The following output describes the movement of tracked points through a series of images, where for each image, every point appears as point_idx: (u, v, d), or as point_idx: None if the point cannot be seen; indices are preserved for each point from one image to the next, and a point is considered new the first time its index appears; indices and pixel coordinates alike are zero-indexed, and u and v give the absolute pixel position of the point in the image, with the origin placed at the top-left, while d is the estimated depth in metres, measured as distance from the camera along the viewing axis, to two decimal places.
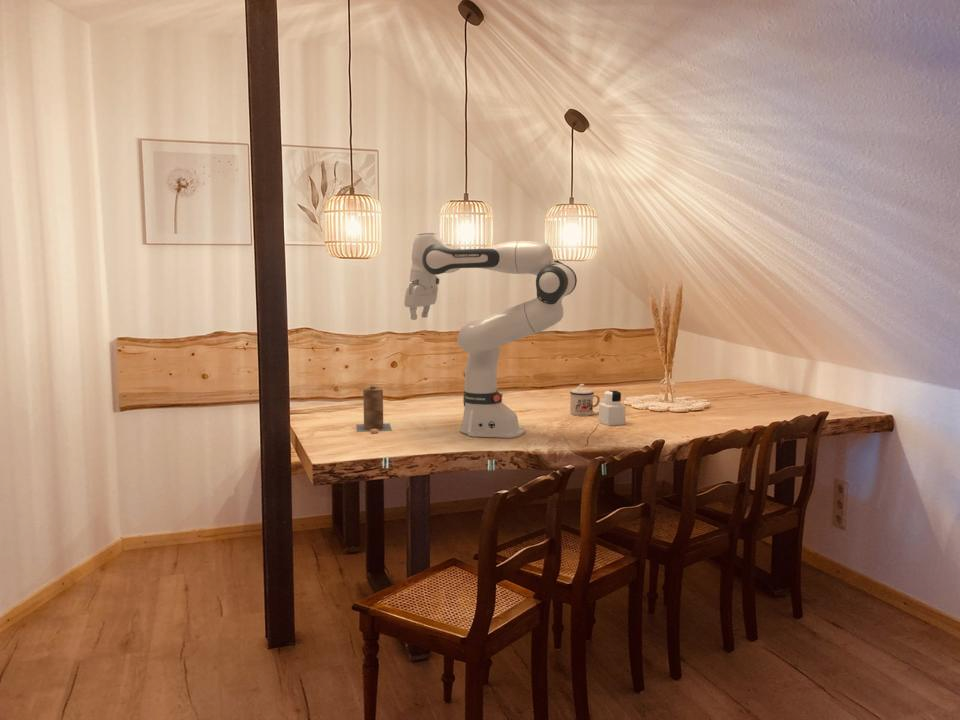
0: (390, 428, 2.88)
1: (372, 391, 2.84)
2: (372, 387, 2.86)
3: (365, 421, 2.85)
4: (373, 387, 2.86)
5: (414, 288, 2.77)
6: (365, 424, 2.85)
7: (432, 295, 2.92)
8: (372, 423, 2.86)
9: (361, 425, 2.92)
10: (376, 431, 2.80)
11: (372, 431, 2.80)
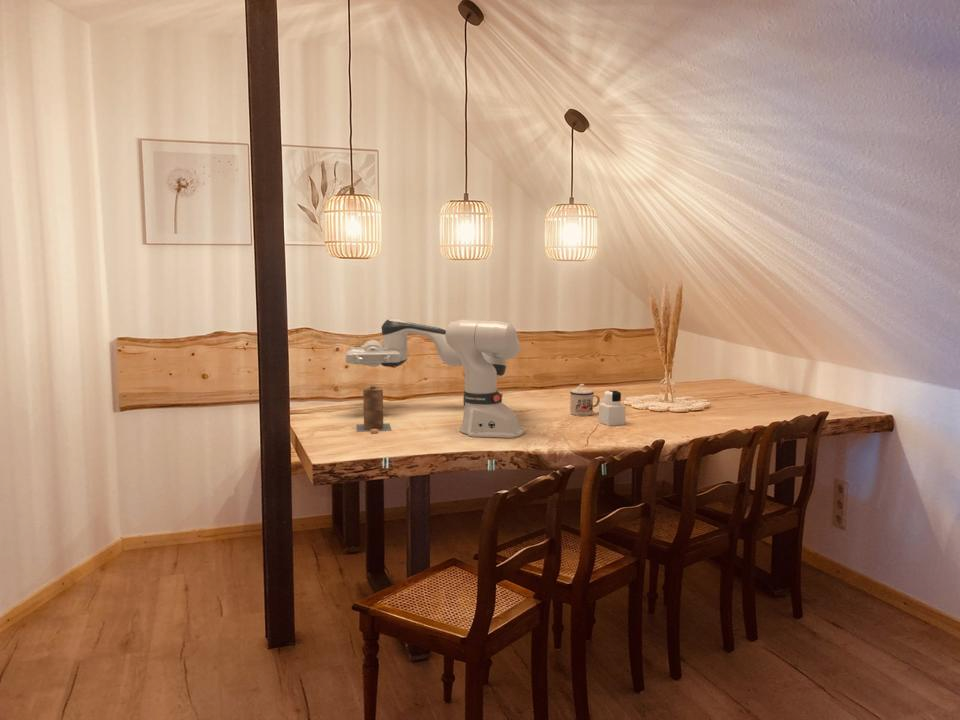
0: (390, 428, 2.88)
1: (372, 391, 2.84)
2: (372, 387, 2.86)
3: (365, 421, 2.85)
4: (373, 387, 2.86)
5: None
6: (365, 424, 2.85)
7: None
8: (372, 423, 2.86)
9: (361, 425, 2.92)
10: (376, 431, 2.80)
11: (372, 431, 2.80)
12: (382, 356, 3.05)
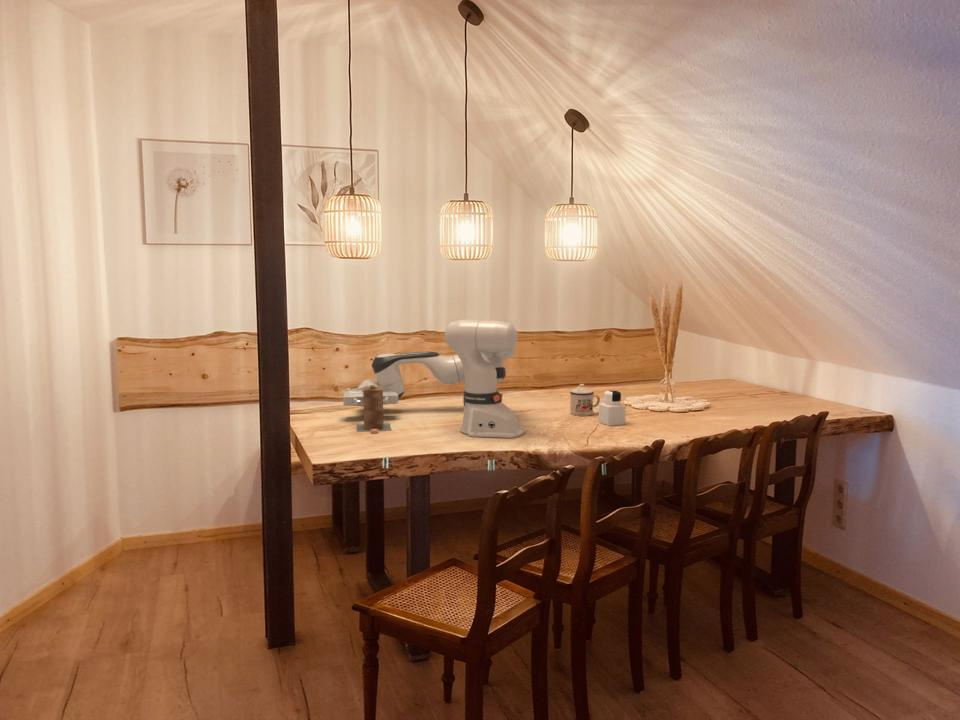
0: (390, 428, 2.88)
1: (372, 391, 2.84)
2: (372, 387, 2.86)
3: (365, 421, 2.85)
4: (373, 387, 2.86)
5: None
6: (365, 424, 2.85)
7: None
8: (372, 423, 2.86)
9: (361, 425, 2.92)
10: (376, 431, 2.80)
11: (372, 431, 2.80)
12: None
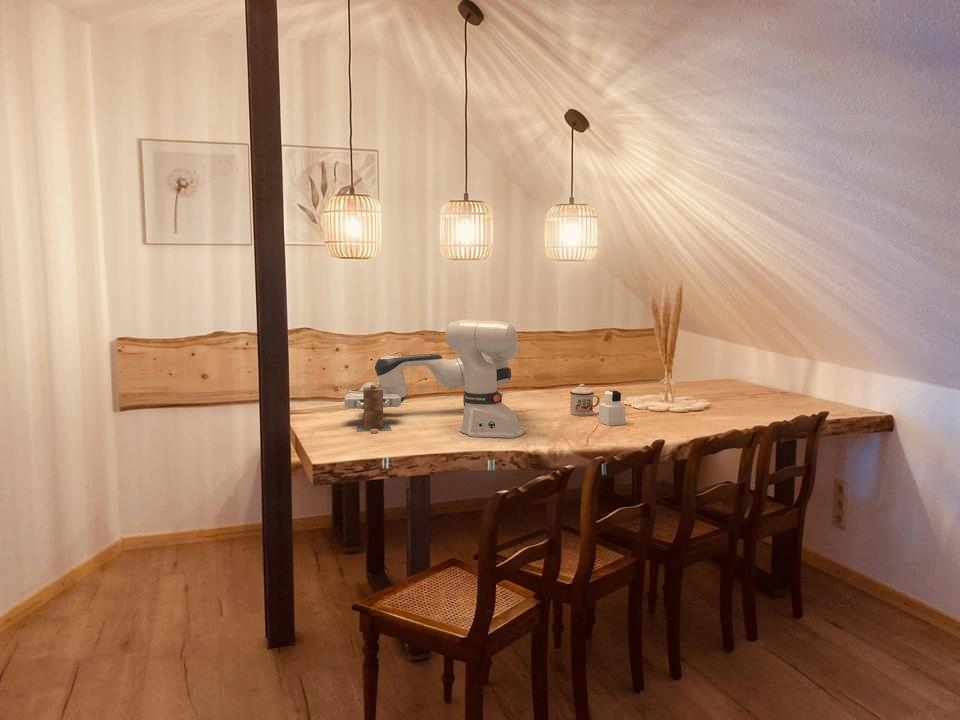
0: (390, 428, 2.88)
1: (372, 391, 2.84)
2: (372, 387, 2.86)
3: (365, 421, 2.85)
4: (373, 387, 2.86)
5: None
6: (365, 424, 2.85)
7: None
8: (372, 423, 2.86)
9: (361, 425, 2.92)
10: (376, 431, 2.80)
11: (372, 431, 2.80)
12: None
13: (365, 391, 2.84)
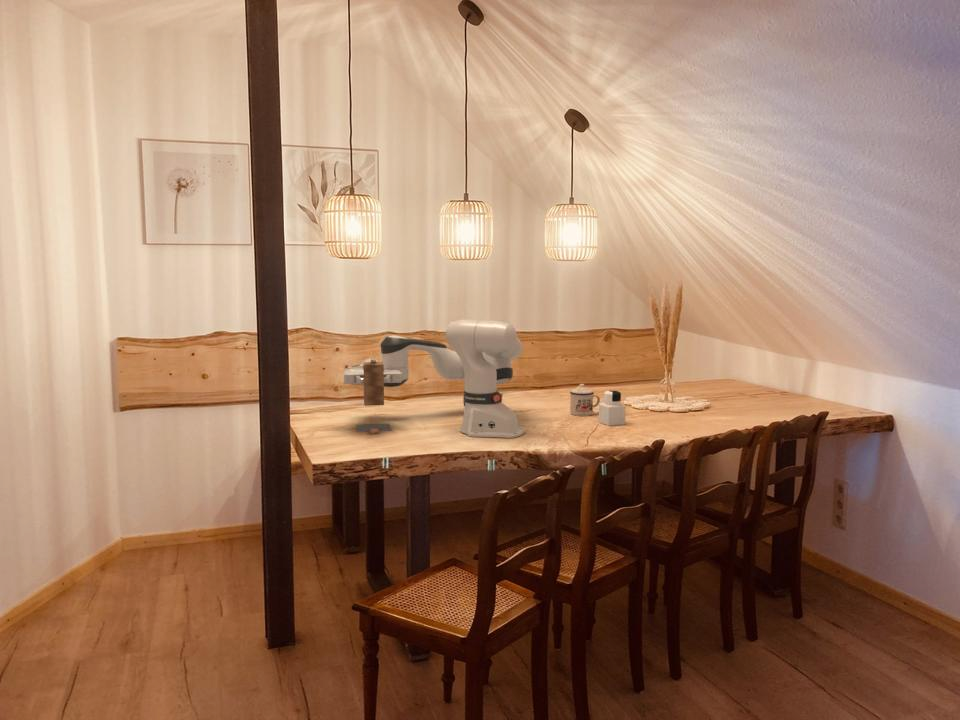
0: (390, 428, 2.88)
1: (372, 366, 2.75)
2: (372, 362, 2.77)
3: (365, 397, 2.76)
4: (373, 362, 2.77)
5: None
6: (365, 400, 2.76)
7: None
8: (372, 399, 2.76)
9: (361, 425, 2.92)
10: (376, 431, 2.80)
11: (372, 431, 2.80)
12: None
13: (365, 366, 2.74)
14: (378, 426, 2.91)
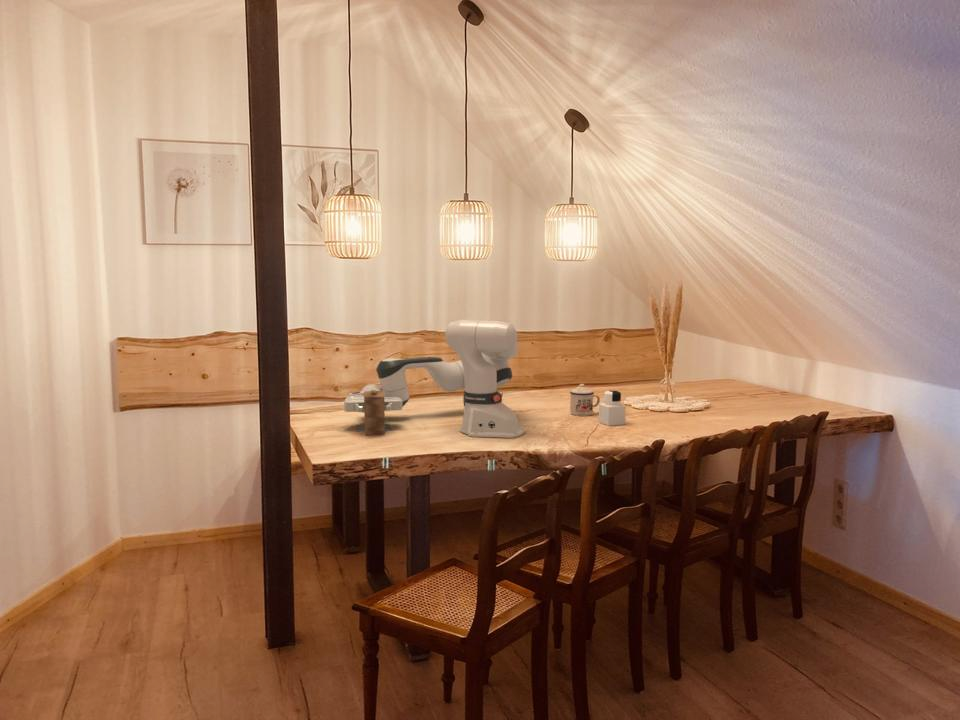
0: (390, 428, 2.88)
1: (373, 398, 2.74)
2: (373, 393, 2.77)
3: (366, 428, 2.77)
4: (374, 393, 2.77)
5: None
6: (366, 431, 2.77)
7: None
8: (373, 430, 2.77)
9: (361, 425, 2.92)
10: None
11: None
12: None
13: (366, 398, 2.74)
14: None
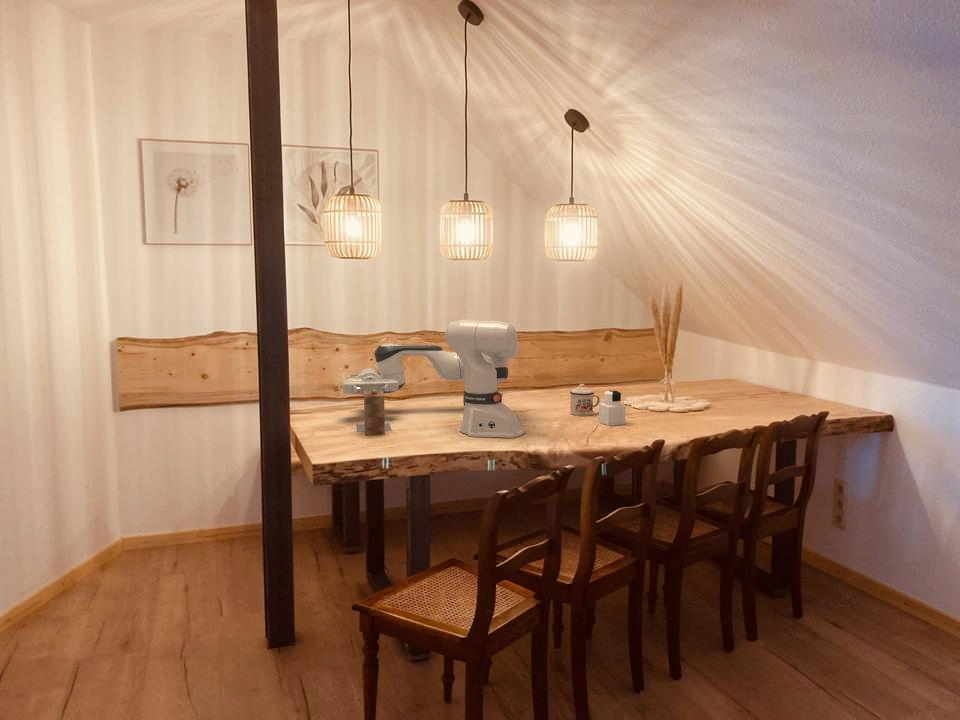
0: (390, 428, 2.88)
1: (373, 397, 2.75)
2: (373, 392, 2.77)
3: (366, 427, 2.77)
4: (374, 392, 2.77)
5: None
6: (366, 430, 2.77)
7: None
8: (373, 429, 2.77)
9: (361, 425, 2.92)
10: None
11: None
12: (380, 385, 2.98)
13: (366, 397, 2.75)
14: None
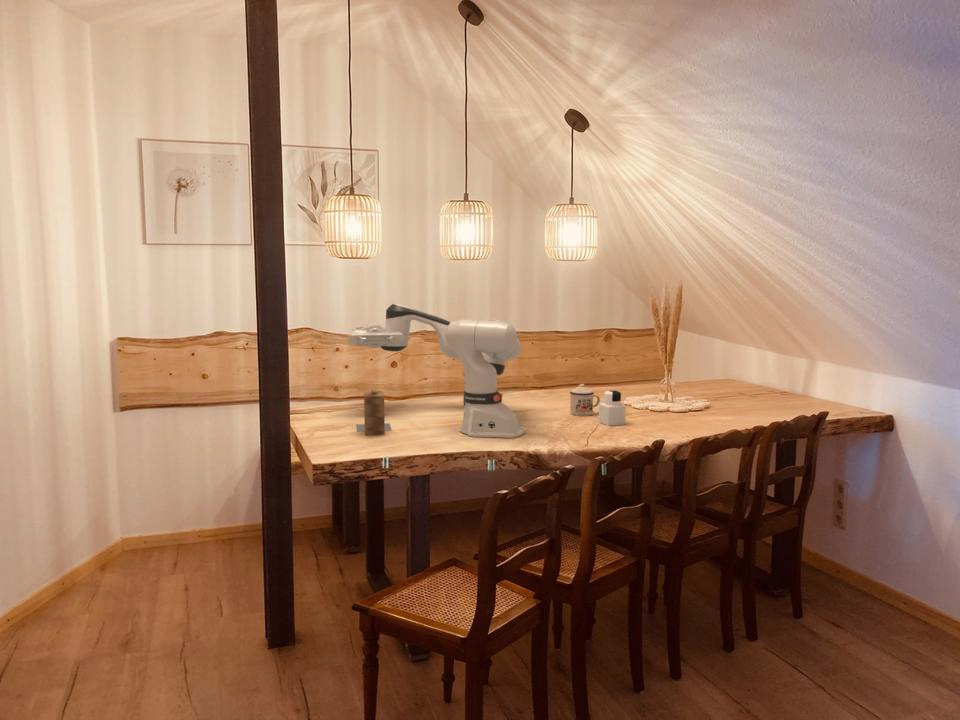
0: (390, 428, 2.88)
1: (373, 397, 2.75)
2: (373, 392, 2.77)
3: (366, 427, 2.77)
4: (374, 392, 2.77)
5: None
6: (366, 430, 2.77)
7: None
8: (373, 429, 2.77)
9: (361, 425, 2.92)
10: None
11: None
12: (385, 337, 3.04)
13: (366, 397, 2.75)
14: None
